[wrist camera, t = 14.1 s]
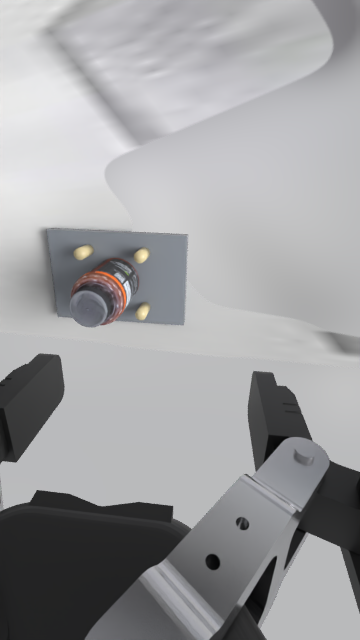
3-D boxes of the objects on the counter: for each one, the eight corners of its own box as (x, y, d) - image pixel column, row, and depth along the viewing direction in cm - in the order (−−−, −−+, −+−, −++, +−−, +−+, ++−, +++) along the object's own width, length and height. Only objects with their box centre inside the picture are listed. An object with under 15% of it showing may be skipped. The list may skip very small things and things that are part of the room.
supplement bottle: (93, 293, 43) (54, 326, 32) (100, 251, 40) (61, 272, 30) (135, 305, 43) (110, 343, 32) (145, 264, 40) (121, 290, 30)
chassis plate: (52, 228, 41) (34, 232, 37) (188, 234, 40) (184, 239, 36) (62, 312, 46) (47, 324, 42) (184, 321, 45) (181, 334, 40)
